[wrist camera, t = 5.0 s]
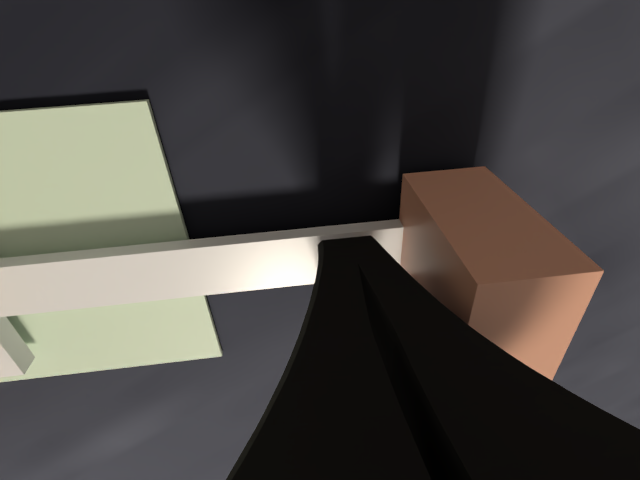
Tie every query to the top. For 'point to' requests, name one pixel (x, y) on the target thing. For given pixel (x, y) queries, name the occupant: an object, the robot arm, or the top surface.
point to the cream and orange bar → (302, 261)
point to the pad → (95, 232)
